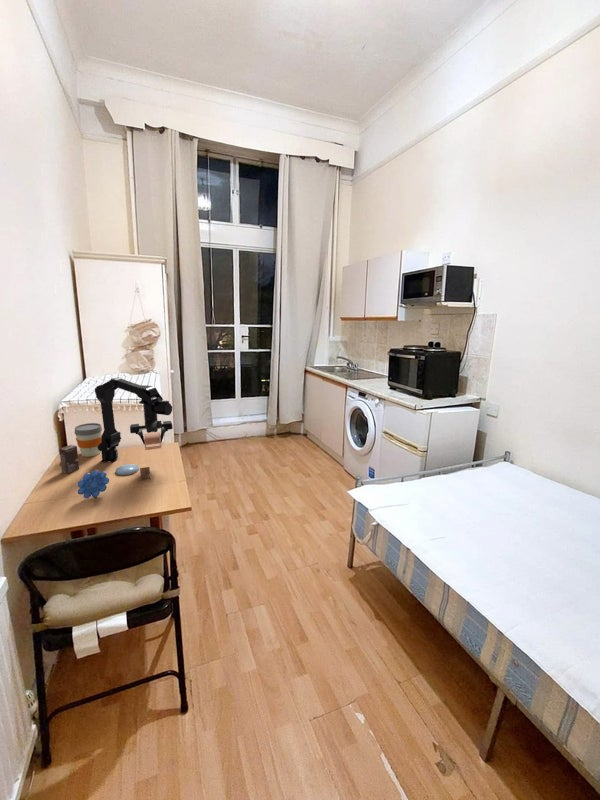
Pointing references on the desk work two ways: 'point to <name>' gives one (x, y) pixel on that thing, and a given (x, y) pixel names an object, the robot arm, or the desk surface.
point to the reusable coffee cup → (88, 438)
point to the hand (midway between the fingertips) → (152, 443)
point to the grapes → (93, 484)
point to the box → (69, 458)
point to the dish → (127, 469)
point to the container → (152, 440)
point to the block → (145, 473)
